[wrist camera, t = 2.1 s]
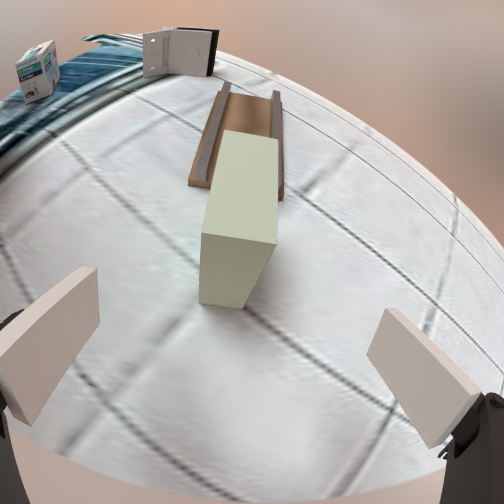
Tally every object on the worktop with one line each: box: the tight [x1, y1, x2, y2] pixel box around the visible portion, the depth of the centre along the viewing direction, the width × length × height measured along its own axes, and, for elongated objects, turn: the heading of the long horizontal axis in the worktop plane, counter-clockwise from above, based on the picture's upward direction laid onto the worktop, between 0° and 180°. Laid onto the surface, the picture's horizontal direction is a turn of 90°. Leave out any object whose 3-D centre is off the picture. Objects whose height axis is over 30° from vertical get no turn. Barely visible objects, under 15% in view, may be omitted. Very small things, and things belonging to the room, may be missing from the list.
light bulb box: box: [15, 40, 60, 104], centre depth 33 cm, size 11×7×11 cm, turn 21°
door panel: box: [199, 130, 278, 309], centre depth 22 cm, size 4×9×12 cm, turn 177°
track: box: [188, 82, 284, 200], centre depth 35 cm, size 11×22×3 cm, turn 177°
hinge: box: [143, 26, 219, 78], centre depth 40 cm, size 14×5×10 cm, turn 97°
